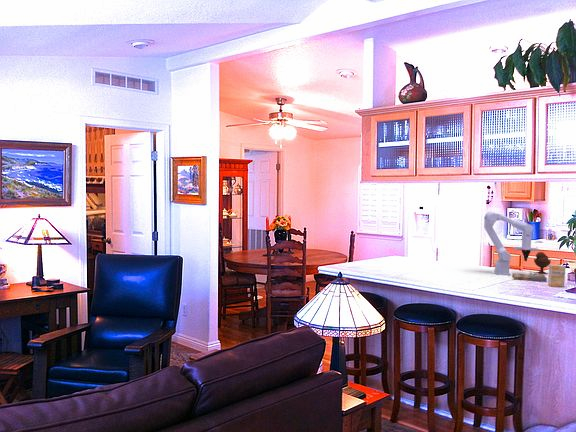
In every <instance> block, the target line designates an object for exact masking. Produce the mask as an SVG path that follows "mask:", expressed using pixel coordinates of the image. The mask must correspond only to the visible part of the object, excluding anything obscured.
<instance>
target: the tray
mask: <svg viewBox="0 0 576 432" xmlns="http://www.w3.org/2000/svg"><path fill="white" fill-rule="evenodd" d="M533 274H534V275H543V278H541V277H531V281H530V282H542V283H548V281H547V280H548V279H547V277H546V275H545V274H539V273H533Z"/></svg>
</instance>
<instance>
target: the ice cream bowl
mask: <svg viewBox="0 0 576 432" xmlns="http://www.w3.org/2000/svg"><path fill="white" fill-rule="evenodd" d="M535 257H536V258H534V259H533V260H534V261H533V262H534V264H535V265H536V266H537V267H539V268H540V270H539V271H537V274H543V275H546V274H547V272H545V271H544V268H547V267H549V264H550V265H551V259H549V256H548V255H547V254H546V253H545V252H542V251H539V252H537V253H536V254H535Z"/></svg>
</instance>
